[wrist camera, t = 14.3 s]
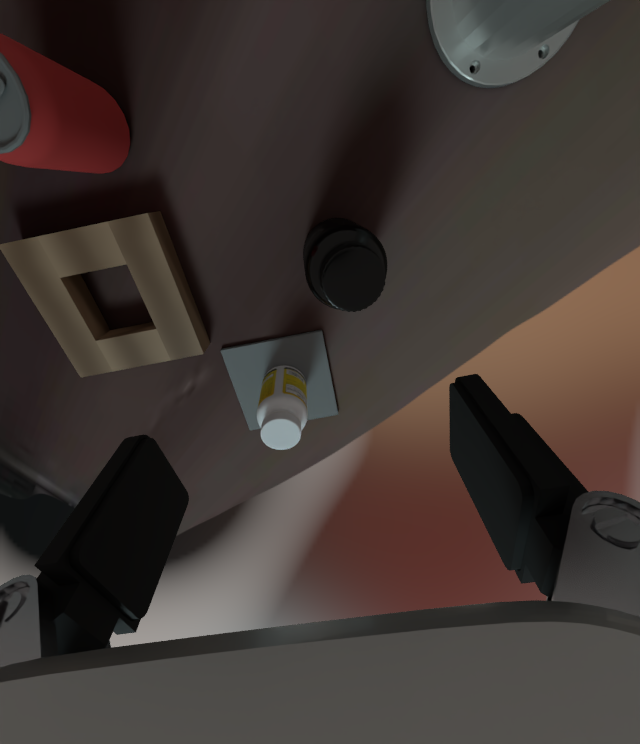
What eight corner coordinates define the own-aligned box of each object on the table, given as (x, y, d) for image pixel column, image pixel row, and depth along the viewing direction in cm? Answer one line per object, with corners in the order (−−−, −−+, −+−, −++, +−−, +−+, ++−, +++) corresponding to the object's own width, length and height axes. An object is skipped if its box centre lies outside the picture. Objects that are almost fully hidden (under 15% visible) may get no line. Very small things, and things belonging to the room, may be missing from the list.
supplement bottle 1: (266, 403, 42) (257, 457, 33) (259, 365, 39) (248, 414, 31) (308, 399, 42) (310, 453, 34) (304, 362, 40) (305, 409, 31)
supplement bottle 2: (319, 296, 36) (327, 339, 26) (291, 235, 33) (287, 256, 23) (378, 269, 35) (410, 303, 25) (355, 204, 32) (381, 210, 22)
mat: (321, 329, 38) (322, 331, 38) (337, 412, 44) (338, 414, 43) (221, 348, 39) (220, 350, 38) (250, 428, 44) (249, 430, 44)
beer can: (148, 160, 30) (63, 142, 19) (83, 184, 30) (-34, 180, 20) (104, 66, 26) (-26, -17, 16) (32, 95, 27) (-138, 34, 17)
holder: (160, 211, 31) (147, 212, 29) (210, 342, 38) (203, 353, 36) (22, 240, 32) (-3, 244, 29) (95, 364, 39) (80, 377, 36)
